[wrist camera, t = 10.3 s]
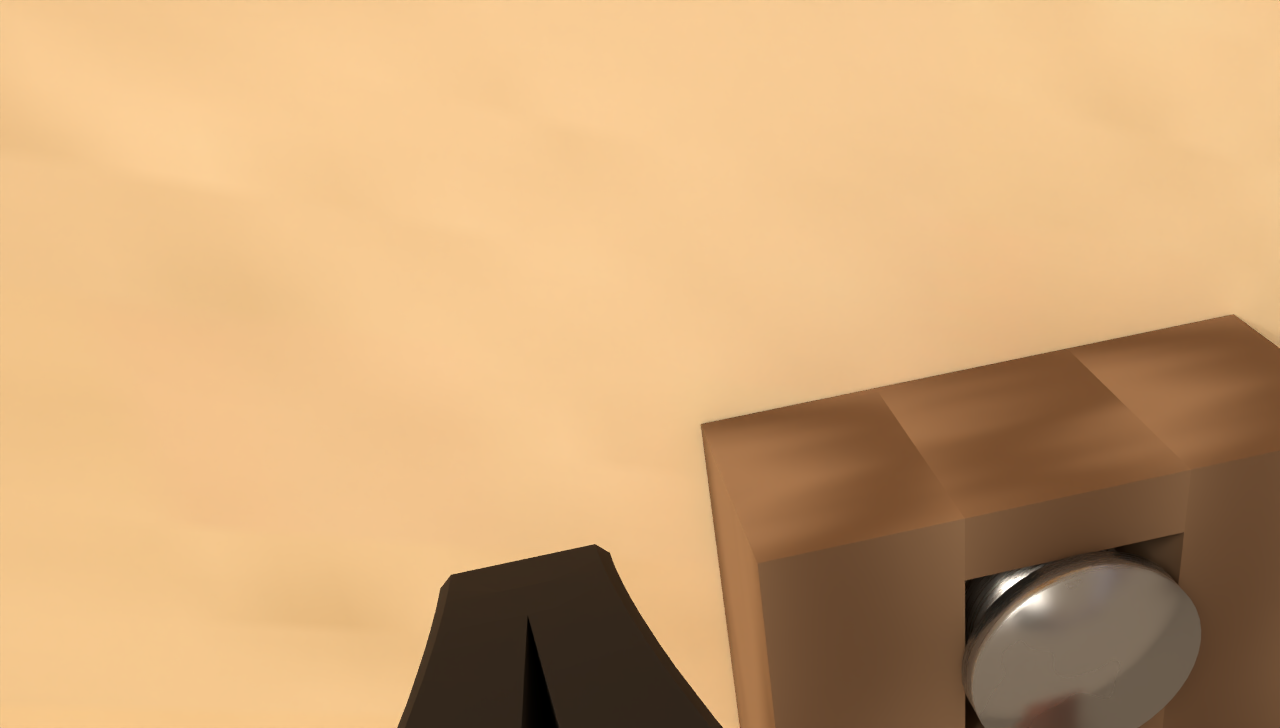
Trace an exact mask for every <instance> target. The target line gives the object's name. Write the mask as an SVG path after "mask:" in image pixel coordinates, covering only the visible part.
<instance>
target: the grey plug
mask: <svg viewBox="0 0 1280 728" xmlns="http://www.w3.org/2000/svg"><path fill="white" fill-rule="evenodd" d="M1200 642H1201V625H1200V618H1199V615H1198V612H1197V609H1196V607H1195V606H1194V604H1193V602H1192V600H1191V599H1190V598H1189V597H1188V595H1187V594H1186V593H1185V592H1184V591H1183V590H1182V589H1181V587H1180V586H1179V585H1178V584H1177V583H1176V582H1175V581H1174V579H1173V578H1172V577H1171V576H1170V575H1169V574H1168V573H1167V571H1165V570H1164V569H1163V568H1162V567H1160V566H1159V565H1158V564H1156V563H1154V562H1152V561H1150V560H1149V559H1146V558H1144V557H1141V556H1138V555H1135V554H1130V553H1124V552H1117V551H1116V550H1115V549H1114V548H1110V549H1106V550H1101V551H1097V552H1091V553H1085V554H1079V555H1075V556H1071V557H1068V558H1064V559H1060V560H1056V561H1051V562H1047V563H1042V564H1038V565H1033V566H1029V567H1024V568H1019V569H1015V570H1010V571H1006V572H1001V573H997V574H992V575H988V576H983V577H979V578H974V579H970V580H965V651H964V655H963V659H962V669H961V674H962V683H963V687H964V690H965V694H966V696H967V698H968V700H969V702H970V703H971V705H972V707H973V709H974V711H975V712H976V714H977V716H978V718H979V719H980V721H981V723H982V725H983V726H984V727H985V728H1138V727H1140V726H1141V725H1143V724H1144V723H1145V722H1147V721H1148V720H1150V719H1151V718H1152V717H1153V716H1154V715H1156V714H1157V713H1158V712H1159V711H1160V710H1162V709H1163V708H1164V707H1165V706H1166V705H1167V703H1168V702H1169V701H1170V700H1171V699H1172V698H1173V697H1174V696H1175V695H1176V693H1177V692H1178V691H1179V690H1180V688H1181V687H1182V685H1183V684H1184V682H1185V681H1186V679H1187V678H1188V676H1189V674H1190V672H1191V670H1192V668H1193V666H1194V664H1195V661H1196V658H1197V656H1198V652H1199V647H1200Z"/></svg>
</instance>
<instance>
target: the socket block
mask: <svg viewBox="0 0 1280 728" xmlns="http://www.w3.org/2000/svg"><path fill="white" fill-rule="evenodd" d="M701 429H702V437H703V445H704V452H705V460H706V468H707V475H708V483H709V491H710V499H711V506H712V514H713V522H714V530H715V537H716V545H717V553H718V561H719V568H720V576H721V584H722V591H723V599H724V607H725V615H726V622H727V630H728V638H729V646H730V653H731V661H732V669H733V677H734V684H735V692H736V700H737V708H738V715H739V723H740V728H985V727H984V726H983V725H982V723H981V721H980V719H979V718H978V716H977V714H976V712H975V711H974V709H973V707H972V705H971V703H970V702H969V700H968V698H967V696H966V694H965V690H964V687H963V683H962V674H961V669H962V659H963V655H964V651H965V580H970V579H974V578H979V577H983V576H988V575H992V574H997V573H1001V572H1006V571H1010V570H1015V569H1019V568H1024V567H1029V566H1033V565H1038V564H1042V563H1047V562H1051V561H1056V560H1060V559H1064V558H1068V557H1071V556H1075V555H1079V554H1085V553H1091V552H1097V551H1101V550H1106V549H1110V548H1114V549H1115V550H1116V551H1117V552H1124V553H1130V554H1135V555H1138V556H1141V557H1144V558H1146V559H1149V560H1150V561H1152V562H1154V563H1156V564H1158V565H1159V566H1160V567H1162V568H1163V569H1164V570H1165V571H1167V573H1168V574H1169V575H1170V576H1171V577H1172V578H1173V579H1174V581H1175V582H1176V583H1177V584H1178V585H1179V586H1180V587H1181V589H1182V590H1183V591H1184V592H1185V593H1186V594H1187V595H1188V597H1189V598H1190V599H1191V600H1192V602H1193V604H1194V606H1195V607H1196V609H1197V612H1198V615H1199V618H1200V625H1201V642H1200V647H1199V652H1198V656H1197V658H1196V661H1195V664H1194V666H1193V668H1192V670H1191V672H1190V674H1189V676H1188V678H1187V679H1186V681H1185V682H1184V684H1183V685H1182V687H1181V688H1180V690H1179V691H1178V692H1177V693H1176V695H1175V696H1174V697H1173V698H1172V699H1171V700H1170V701H1169V702H1168V703H1167V705H1166V706H1165V707H1164V708H1163V709H1162V710H1160V711H1159V712H1158V713H1157V714H1156V715H1154V716H1153V717H1152V718H1151V719H1150V720H1148V721H1147V722H1145V723H1144V724H1143V725H1141V726H1140V727H1138V728H1280V348H1278V347H1277V346H1276V345H1274V344H1273V343H1271V342H1270V341H1269V340H1267V339H1266V338H1265V337H1263V336H1262V335H1261V334H1259V333H1258V332H1257V331H1255V330H1254V329H1252V328H1251V327H1250V326H1248V325H1247V324H1246V323H1244V322H1243V321H1242V320H1240V319H1239V318H1238V317H1236V316H1235V315H1229V316H1224V317H1219V318H1214V319H1209V320H1205V321H1200V322H1195V323H1190V324H1185V325H1180V326H1175V327H1171V328H1166V329H1161V330H1156V331H1151V332H1146V333H1141V334H1137V335H1132V336H1127V337H1122V338H1117V339H1112V340H1107V341H1103V342H1098V343H1093V344H1088V345H1083V346H1078V347H1074V348H1069V349H1064V350H1059V351H1054V352H1049V353H1044V354H1040V355H1035V356H1030V357H1025V358H1020V359H1015V360H1010V361H1006V362H1001V363H996V364H991V365H986V366H981V367H976V368H972V369H967V370H962V371H957V372H952V373H947V374H942V375H938V376H933V377H928V378H923V379H918V380H913V381H908V382H904V383H899V384H894V385H889V386H884V387H879V388H874V389H870V390H865V391H860V392H855V393H850V394H845V395H840V396H836V397H831V398H826V399H821V400H816V401H811V402H807V403H802V404H797V405H792V406H787V407H782V408H777V409H773V410H768V411H763V412H758V413H753V414H748V415H743V416H739V417H734V418H729V419H724V420H719V421H714V422H709V423H705V424H701Z"/></svg>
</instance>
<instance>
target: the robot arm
mask: <svg viewBox="0 0 1280 728" xmlns="http://www.w3.org/2000/svg"><path fill="white" fill-rule="evenodd" d="M398 728H723V727H722V726H721V725H720V724H719V723H718V721H717V720H716V719H715V718H714V716H713V715H712V714H711V713H710V711H709V710H708V709H707V707H706V706H705V705H704V703H703V702H702V701H701V699H700V698H699V697H698V696H697V694H696V693H695V692H694V690H693V689H692V688H691V686H690V685H689V684H688V682H687V681H686V680H685V679H684V677H683V676H682V675H681V673H680V672H679V671H678V669H677V668H676V667H675V665H674V664H673V663H672V661H671V660H670V658H669V657H668V655H667V654H666V653H665V651H664V650H663V648H662V647H661V645H660V644H659V643H658V641H657V639H656V638H655V636H654V635H653V633H652V632H651V630H650V629H649V627H648V626H647V624H646V622H645V621H644V619H643V618H642V616H641V615H640V613H639V611H638V610H637V608H636V606H635V605H634V603H633V601H632V599H631V598H630V596H629V594H628V592H627V590H626V589H625V587H624V585H623V583H622V581H621V579H620V577H619V575H618V572H617V570H616V568H615V566H614V563H613V561H612V558H611V555H610V553H609V552H607V551H606V550H604V549H602V548H601V547H599V546H597V545H595V544H594V545H589V546H585V547H580V548H575V549H570V550H566V551H561V552H556V553H552V554H547V555H542V556H538V557H533V558H528V559H523V560H519V561H514V562H509V563H505V564H500V565H495V566H490V567H486V568H481V569H476V570H472V571H467V572H462V573H458V574H453V575H451V576H450V577H449V578H448V580H447V581H446V582H445V583H444V585H443V586H442V587H441V589H440V593H439V598H438V603H437V607H436V612H435V615H434V619H433V623H432V627H431V631H430V634H429V637H428V641H427V644H426V648H425V651H424V654H423V657H422V660H421V664H420V666H419V669H418V672H417V675H416V678H415V681H414V684H413V687H412V690H411V693H410V696H409V699H408V702H407V704H406V707H405V710H404V712H403V715H402V717H401V720H400V723H399V725H398Z"/></svg>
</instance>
